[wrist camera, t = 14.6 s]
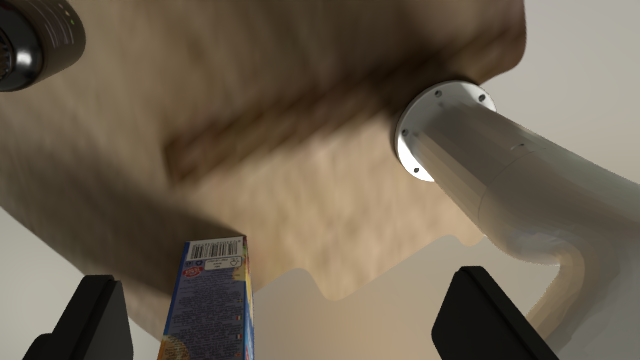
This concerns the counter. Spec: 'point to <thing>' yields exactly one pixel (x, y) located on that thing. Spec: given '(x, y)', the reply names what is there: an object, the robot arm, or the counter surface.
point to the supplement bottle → (37, 41)
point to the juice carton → (211, 304)
